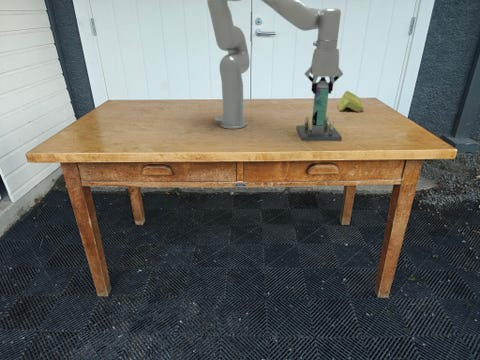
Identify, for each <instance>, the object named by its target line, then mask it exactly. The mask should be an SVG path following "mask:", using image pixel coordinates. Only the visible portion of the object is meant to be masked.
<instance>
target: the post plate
mask: <svg viewBox="0 0 480 360" xmlns="http://www.w3.org/2000/svg"><path fill="white" fill-rule="evenodd" d="M329 117H330V116H329V115H326V119H325V126H324V127H322V128H317V127H313V126H312V125H313V122H312V121H310V117H309V116H308V115H307V116H305V122H304V123H305V124H304V125H302V124H301V125H296V131H297V132H298V134H299V137H300V138H301V139H300V140H301V141H303V142H306V141H307V142H308V141H309V142H310V141H313V142H314V141H316V142H317V141H318V142H319V141H320V142H321V141H324V142H325V141H326V142H327V141H329V142H330V141H335V142H336V141H342V138H343V137H342V135H341V134H340V133H339V132H338V130H337V129H336V128H335V127H334V124H335V123H334V121H330V122H329ZM309 121H310V122H309Z"/></svg>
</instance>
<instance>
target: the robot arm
mask: <svg viewBox="0 0 480 360" xmlns="http://www.w3.org/2000/svg"><path fill="white" fill-rule="evenodd" d="M206 1H207V6H208V11H209V14H210V19H211V23H212V28H213V33H214V37H215V40H216V41H215V42H216V45H217V47H218V48H219V49H220V50H221V51H225V52H227V54H226V55H224V56H223V57H222V58H221V59H220V63H219V74H220V75H219V76H220V79H221V94H222V95H221V96H222V115H220V116H213V121H215V122H218V123H219V122H220V123H219V126H220V127H221V128H225V129H227V130H228V129H231V130H236V129H237V130H238V129H243V128H245V127H246V126H247V124H248V122H247V121H246V120H244V83H243V76H242V75H243V74H244V73H246V72H247V71H248V69H249V68H250V64H251V63H250V62H251V61H250V55H249V50H248V45H247V41H246V37H245V33H244V31H243V30H242V29H241V28H240V27H239V26H235V25H234V22H233V16H232V11H231V9H230V7H229V3H228V2H240V1H241V0H206ZM260 1H261V2H263V3H265V5H267V6H268V7H270V9H273V11H275V12H276V13H277V14H279V16H281V17H282V18H283V19H284V20H286V22H289V23H290V24H291V25H292V26H294V27H295V28H297V29H299V30H301V31H312V30H317V39H316V41H313V43H312V46H315V47H316V48H314V50H313V53H312V59H311V65H310V67H309V68H308V69H307V70H306V71H305V72H304V76H305V77H306V78H307V79H308V80H309V81H310V82H311V92H312V93H313V95H315V93H316V86H317V84H316V83H317V80H318V78H319V77H320V78H321V77H325V78H326V77H328V79H329V82H328V83H329V94H328V95H330V94H332V92H333V89H334V84H335V83H336V81H338V80H339V78H341V77H342V76H343V75H344V73H343V71H342V70H341V69H340V67H339V66H340V50H339V48H337V47H338V40H339V31H340V23H341V14H342V13H341V9H340V8H337V7H335V8H333V7H331V8H330V7H329V8H326V7H325V8H323V9H320V8H313V7H309V6H308V5H306V4H305V3H303V2H302V1H300V0H260ZM310 74H311V75H313V76H311V75H310Z"/></svg>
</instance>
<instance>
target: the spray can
mask: <svg viewBox="0 0 480 360" xmlns="http://www.w3.org/2000/svg"><path fill="white" fill-rule="evenodd" d="M316 84H317V86H316V93H315V94H314V96H313V107H312V108H313V109H312V117H311V122H313V125H312V126H313V127H317V128H322V127H324V126H325V119H326V116H327V108H328V101H329V95H330V94H329V82H328V81H327V80H326V76H325V77H320V80H318V81H316Z"/></svg>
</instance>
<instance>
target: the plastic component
mask: <svg viewBox="0 0 480 360" xmlns="http://www.w3.org/2000/svg"><path fill="white" fill-rule="evenodd" d="M337 107H338V112H343V111H344V110H345V109H346V108H349V109H350V110H352V111H355V112H356V113H360V112H361V111H362V110H363V109H364V105H363V102H362V100H361V98H360V97H359V96H358V95H356V94H354V93H353V92H351V91H348V90H346V91H345V92H344V94H343V95H342V96H341V98H340V100H339V101H338V106H337Z"/></svg>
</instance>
